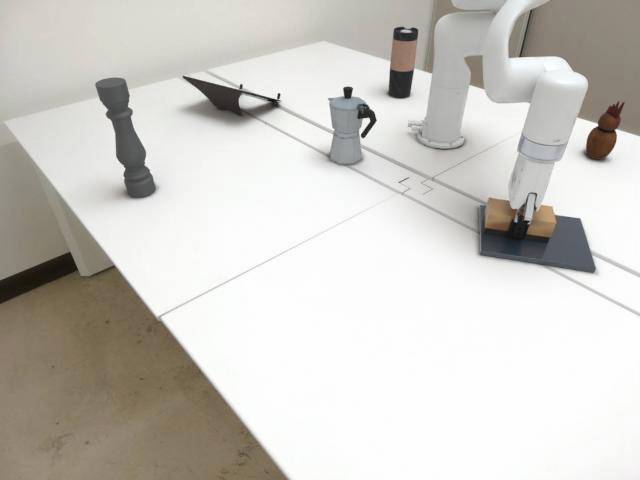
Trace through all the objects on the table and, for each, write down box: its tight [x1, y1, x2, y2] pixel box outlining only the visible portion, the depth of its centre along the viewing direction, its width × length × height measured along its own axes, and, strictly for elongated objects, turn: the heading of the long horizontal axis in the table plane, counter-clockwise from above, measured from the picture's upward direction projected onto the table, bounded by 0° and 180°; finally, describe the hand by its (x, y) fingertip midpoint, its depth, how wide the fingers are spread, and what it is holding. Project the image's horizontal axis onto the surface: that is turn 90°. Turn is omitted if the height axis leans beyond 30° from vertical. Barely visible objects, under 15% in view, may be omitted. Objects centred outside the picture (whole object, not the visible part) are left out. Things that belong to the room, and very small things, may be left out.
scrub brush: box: [483, 197, 556, 243], centre depth 89 cm, size 12×6×5 cm, turn 75°
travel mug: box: [388, 26, 419, 99], centre depth 144 cm, size 8×8×20 cm
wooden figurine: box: [585, 101, 626, 160], centre depth 112 cm, size 7×6×15 cm
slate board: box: [478, 204, 597, 273], centre depth 90 cm, size 20×16×1 cm
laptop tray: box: [181, 75, 282, 117], centre depth 140 cm, size 23×23×9 cm
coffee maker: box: [327, 85, 378, 166], centre depth 111 cm, size 15×9×18 cm, turn 47°
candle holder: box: [94, 77, 157, 199], centre depth 97 cm, size 6×6×25 cm
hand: (514, 227), depth 91 cm, fingers closed on scrub brush, 5 cm apart
